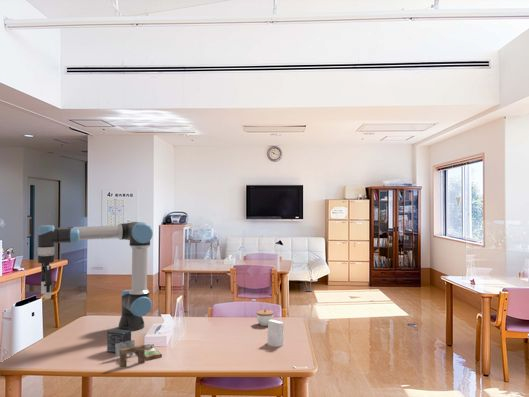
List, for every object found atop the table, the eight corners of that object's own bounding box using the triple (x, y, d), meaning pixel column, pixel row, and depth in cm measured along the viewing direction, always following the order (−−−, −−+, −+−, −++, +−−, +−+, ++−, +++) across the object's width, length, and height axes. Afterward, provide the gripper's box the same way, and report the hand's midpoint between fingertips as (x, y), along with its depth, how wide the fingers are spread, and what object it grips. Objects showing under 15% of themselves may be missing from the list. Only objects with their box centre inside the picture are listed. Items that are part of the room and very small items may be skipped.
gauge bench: (149, 346, 222) (149, 331, 222) (163, 358, 205) (163, 342, 205) (109, 354, 210) (109, 338, 210) (121, 367, 194) (121, 350, 194)
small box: (132, 350, 216) (132, 330, 216) (123, 355, 210) (123, 333, 210) (115, 348, 220) (115, 328, 220) (106, 352, 214) (106, 331, 214)
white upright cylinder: (287, 343, 227) (287, 321, 227) (276, 347, 221) (276, 324, 221) (275, 339, 233) (275, 318, 234) (264, 343, 227) (264, 321, 227)
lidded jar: (273, 327, 258) (273, 311, 258) (256, 326, 258) (256, 311, 258) (273, 322, 269) (273, 307, 269) (256, 322, 269) (256, 307, 269)
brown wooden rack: (153, 348, 216) (153, 336, 216) (160, 354, 207) (160, 341, 207) (115, 355, 205) (115, 343, 205) (121, 362, 196) (121, 349, 196)
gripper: (35, 253, 226) (34, 292, 226) (41, 258, 206) (40, 301, 205) (50, 252, 231) (50, 291, 230) (58, 257, 210) (57, 299, 210)
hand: (45, 296), depth 218 cm, fingers open, 13 cm apart
